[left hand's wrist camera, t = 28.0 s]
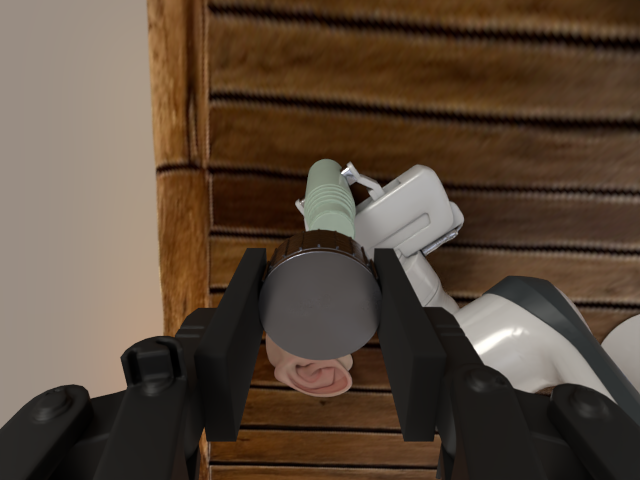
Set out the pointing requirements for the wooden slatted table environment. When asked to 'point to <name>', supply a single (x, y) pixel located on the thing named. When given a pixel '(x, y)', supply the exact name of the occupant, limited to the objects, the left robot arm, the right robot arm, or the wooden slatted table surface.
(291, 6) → the wooden slatted table surface
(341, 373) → the anatomical model
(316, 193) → the bottle
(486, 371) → the left robot arm
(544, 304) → the right robot arm
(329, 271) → the cap
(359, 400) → the wooden slatted table surface
